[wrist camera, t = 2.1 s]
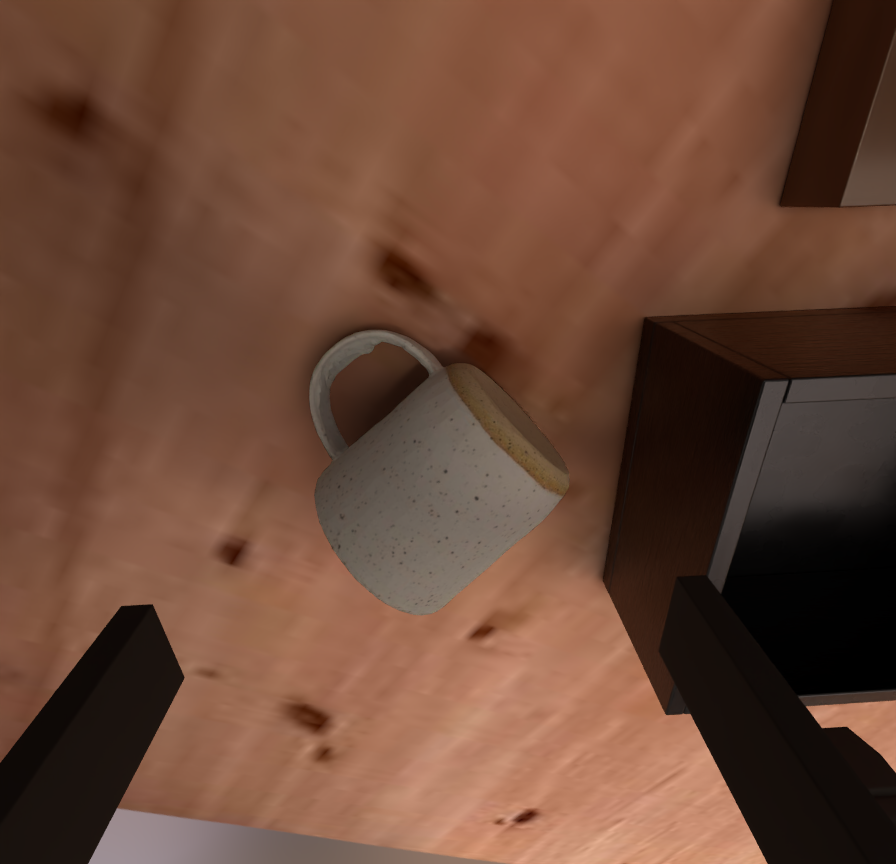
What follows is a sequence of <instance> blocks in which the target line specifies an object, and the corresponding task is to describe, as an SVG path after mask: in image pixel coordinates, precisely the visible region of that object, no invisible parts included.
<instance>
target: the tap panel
mask: <svg viewBox="0 0 896 864" xmlns="http://www.w3.org/2000/svg"><path fill="white" fill-rule="evenodd" d="M887 205H896V0H834V2H833V6H832V10H831V14H830V17H829V21H828V25H827V29H826V33H825V36H824V40H823V44H822V48H821V52H820V56H819V59H818V63H817V67H816V71H815V75H814V78H813V82H812V86H811V90H810V94H809V97H808V101H807V105H806V109H805V113H804V116H803V120H802V124H801V128H800V132H799V135H798V139H797V143H796V147H795V151H794V155H793V158H792V162H791V166H790V170H789V174H788V177H787V181H786V185H785V189H784V193H783V196H782V200H781V204H780V206H781V207H861V206H887Z"/></svg>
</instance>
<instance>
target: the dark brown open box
mask: <svg viewBox="0 0 896 864" xmlns="http://www.w3.org/2000/svg"><path fill="white" fill-rule="evenodd" d="M698 575H707V576H708V578H709V579H710V580H711V582H712V583H713V584H714V586H715V587H716V588H717V590H718V591H719V592H720V594H721V595H722V596H723V598H724V599H725V600H726V602H727V603H728V604H729V606H730V607H731V608H732V610H733V611H734V612H735V614H736V615H737V616H738V618H739V619H740V620H741V621H742V623H743V624H744V625H745V627H746V628H747V629H748V631H749V632H750V633H751V635H752V636H753V637H754V639H755V640H756V641H757V643H758V644H759V645H760V647H761V648H762V649H763V651H764V652H765V653H766V655H767V656H768V657H769V659H770V660H771V661H772V663H773V664H774V665H775V667H776V668H777V669H778V671H779V672H780V673H781V675H782V676H783V677H784V679H785V680H786V681H787V683H788V684H789V685H790V687H791V688H792V689H793V690H794V692H795V693H796V694H797V696H798V697H799V698H800V700H801V701H802V702H803V704H804V705H805V706H817V705H832V704H847V703H863V702H878V701H893V700H896V306H890V307H867V308H845V309H822V310H799V311H777V312H754V313H731V314H709V315H686V316H664V317H646V318H645V320H644V326H643V332H642V339H641V345H640V351H639V357H638V364H637V370H636V376H635V383H634V389H633V395H632V401H631V408H630V414H629V420H628V427H627V433H626V439H625V445H624V452H623V458H622V464H621V471H620V477H619V483H618V489H617V496H616V502H615V508H614V515H613V521H612V527H611V533H610V540H609V546H608V552H607V559H606V565H605V571H604V577H603V583H604V585H605V587H606V589H607V591H608V593H609V595H610V597H611V599H612V601H613V603H614V605H615V608H616V610H617V612H618V614H619V616H620V618H621V620H622V622H623V625H624V627H625V629H626V631H627V633H628V635H629V637H630V640H631V642H632V644H633V646H634V648H635V650H636V652H637V655H638V657H639V659H640V661H641V663H642V665H643V667H644V669H645V672H646V674H647V676H648V678H649V680H650V682H651V684H652V687H653V689H654V691H655V693H656V695H657V697H658V699H659V701H660V704H661V706H662V708H663V710H664V712H665V714H666V715H679V714H683V713H684V714H690V712H689V710H688V708H687V706H686V704H685V702H684V700H683V698H682V696H681V695H680V693H679V691H678V689H677V687H676V685H675V683H674V681H673V679H672V677H671V675H670V673H669V671H668V669H667V667H666V665H665V663H664V662H663V660H662V658H661V656H660V654H659V652H658V650H659V646H660V642H661V638H662V634H663V630H664V626H665V622H666V618H667V614H668V609H669V605H670V601H671V597H672V593H673V589H674V585H675V581H676V577H680V576H698Z"/></svg>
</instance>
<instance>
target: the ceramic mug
mask: <svg viewBox="0 0 896 864" xmlns="http://www.w3.org/2000/svg"><path fill="white" fill-rule="evenodd" d="M381 342H386V343H390V344H393V345H396V346H400V347H402V348H403V349H404V350H406V351H407V352H408V353H409V354H411V355H412V356H413V357H415V358H416V359H417V360H418V361H419V362H420V363H421V364H422V366H424V367H425V368H426V369H427V371H428V373H429V378H427V379H426V380H425V381H424V382H423V383H422V384H420V385H419V386H418V387H417V388H416V389H415V390H414V391H413V392H412V393H411V394H410V395H408V396H407V397H406V398H405V399H404V400H403V401H402V402H401V403H399V404H398V405H397V407H396V408H395V409H394V410H393V411H392V412H391V413H389V414H388V415H387V416H386V417H385V418H383V419H382V420H381V421H380V422H379V423H377V424H376V425H374V426H373V427H372V428H371V429H370V430H369V431H368V432H366V433H365V434H364V435H363V436H361V437H360V438H359V439H358V441H356V442H355V443H354V444H352V445H351V446H350V447H349V446H348V445H347V444H346V442H345V440H344V439H343V437H342V435H341V433H340V431H339V429H338V427H337V425H336V422H335V419H334V417H333V414H332V411H331V405H330V387H331V384H332V382H333V381H334V380H335V376H336V375H337V374H338V373H339V372H341V371H342V370H343V369H344V368H345V367H346V366H348V365H349V364H350V363H351V362H352V361H353V360H355V359H356V358H358V357H359V356H361V355H362V354H369V353H371V352H372V351H373V349H374V347H375V345H378V344H379V343H381ZM309 404H310V409H311V415H312V419H313V422H314V425H315V428H316V431H317V433H318V435H319V437H320V439H321V441H322V443H323V445H324V447H325V448H326V450H327V452H328V454H329V456H330V457H331V458H332V462H331V464H330V465H329V466H328V467H327V468H326V469H325V470H324V471H323V473H322V474H321V476H320V477H319V478H318V481H317V484H316V489H315V494H314V496H315V504H316V510H317V514H318V518H319V522H320V524H321V526H322V529H323V531H324V534H325V535H326V537H327V539H328V541H329V543H330V545H331V547H332V548H333V550H334V551H335V553H336V554H337V556H338V557H339V559H340V560H341V561H342V563H343V564H344V565H345V566H346V568H347V569H348V570H349V572H350V573H351V574H352V575H353V576H354V578H355V579H356V580H357V581H358V582H359V583H361V584H362V585H363V586H364V587H365V588H366V589H367V590H368V591H369V592H371V593H372V594H373V595H375V596H376V597H377V598H378V599H379V600H381V601H383V602H384V603H386V604H387V605H389V606H391V607H393V608H395V609H397V610H399V611H403V612H406V613H409V614H413V615H427V614H432V613H434V612H436V611H438V610H440V609H441V608H443V607H444V606H445V605H446V604H447V603H448V602H449V601H450V600H451V599H453V598H454V597H455V596H456V595H457V594H458V593H459V592H460V591H461V590H463V589H464V588H465V587H466V586H467V585H468V584H470V583H471V582H472V581H473V580H474V579H476V578H477V577H478V576H479V575H480V574H481V573H483V572H484V571H485V570H486V569H487V568H488V567H490V566H491V565H492V564H493V563H494V562H495V561H496V560H497V559H498V558H499V557H501V556H502V555H503V554H504V553H505V552H506V551H507V550H508V549H510V548H511V547H512V546H513V545H514V544H515V543H516V542H518V541H519V540H520V539H521V538H523V537H524V536H525V535H527V534H528V533H529V532H530V531H531V530H533V529H534V528H535V527H536V526H537V525H538V524H540V523H541V522H542V521H543V520H544V519H545V518H546V517H547V516H548V515H549V514H550V512H551V511H552V510H553V509H554V507H555V506H556V505H557V504H558V502H559V501H560V500H561V499H562V497H563V496H564V495H565V494H566V492H567V490H568V488H569V480H570V479H569V471H568V469H567V467H566V465H565V463H564V462H563V460H562V458H561V457H560V455H559V454H558V452H557V451H556V450H555V448H554V447H553V446H552V444H551V443H550V442H549V441H548V439H547V438H546V437H545V436H544V434H543V433H542V432H541V431H540V430H539V428H538V427H537V426H536V425H535V424H534V423H533V422H532V420H531V419H530V418H529V417H528V416H527V415H526V414H525V413H524V411H523V410H522V409H521V408H520V407H519V406H518V405H517V404H516V403H515V402H514V401H513V400H512V399H511V398H510V397H509V396H508V395H507V394H506V393H505V392H504V391H503V390H502V389H501V388H500V387H499V386H498V385H497V384H496V383H495V382H494V381H493V380H492V379H491V378H489V377H488V376H487V375H486V374H485V373H484V372H482V371H481V370H479V369H478V368H476V367H475V366H473V365H471V364H466V363H454V364H451V365H449V366H447V367H442V365H441V364H440V363H439V361H438V360H437V359H436V358H435V356H434V355H433V354H432V353H431V352H429V351H428V350H427V349H425V348H424V347H423V346H421V345H420V344H418V343H417V342H415V341H414V340H412V339H411V338H409V337H407V336H404V335H401V334H398V333H396V332H392V331H388V330H366V331H361V332H356V333H354V334H352V335H350V336H347V337H345V338H344V339H342V340H341V341H339V342H338V343H336V344H335V345H334V346H333V347H332V348H331V349H330V350H328V351H327V352H326V353H325V354H324V356H323V357H322V358H321V360H320V361H319V362H318V364H317V365H316V367H315V369H314V371H313V374H312V377H311V381H310V388H309Z"/></svg>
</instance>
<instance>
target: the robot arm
mask: <svg viewBox="0 0 896 864" xmlns="http://www.w3.org/2000/svg"><path fill="white" fill-rule="evenodd" d="M658 652H659V654H660V656H661V658H662V660H663V662H664V663H665V665H666V667H667V669H668V671H669V673H670V675H671V677H672V679H673V681H674V683H675V685H676V687H677V689H678V691H679V693H680V695H681V696H682V698H683V700H684V702H685V704H686V706H687V708H688V710H689V712H690V714H691V716H692V718H693V720H694V722H695V724H696V726H697V727H698V729H699V731H700V733H701V735H702V737H703V739H704V741H705V743H706V745H707V747H708V749H709V751H710V753H711V755H712V757H713V759H714V760H715V762H716V764H717V766H718V768H719V770H720V772H721V774H722V776H723V778H724V780H725V782H726V784H727V786H728V788H729V790H730V791H731V793H732V795H733V797H734V799H735V801H736V803H737V805H738V807H739V809H740V811H741V813H742V815H743V817H744V819H745V821H746V823H747V824H748V826H749V828H750V830H751V832H752V834H753V836H754V838H755V840H756V842H757V844H758V846H759V848H760V850H761V852H762V854H763V855H764V857H765V859H766V861H767V863H768V864H896V773H895V771H894V770H893V769H892V768H891V767H890V765H889V764H888V763H887V762H886V761H885V759H884V758H883V757H882V756H881V755H880V754H879V753H878V752H877V751H876V750H874V749H873V748H872V747H871V746H870V745H868V744H867V743H866V742H865V741H863V740H862V739H861V738H860V737H859V736H857V735H856V734H855V733H854V732H852V731H851V730H850V729H849V728H848V727H835V728H821V726H820V725H819V724H818V722H817V721H816V720H815V718H814V717H813V716H812V714H811V713H810V712H809V710H808V709H807V708H806V706H805V705H804V704H803V702H802V701H801V700H800V698H799V697H798V696H797V694H796V693H795V692H794V690H793V689H792V688H791V687H790V685H789V684H788V683H787V681H786V680H785V679H784V677H783V676H782V675H781V673H780V672H779V671H778V669H777V668H776V667H775V665H774V664H773V663H772V661H771V660H770V659H769V657H768V656H767V655H766V653H765V652H764V651H763V649H762V648H761V647H760V645H759V644H758V643H757V641H756V640H755V639H754V637H753V636H752V635H751V633H750V632H749V631H748V629H747V628H746V627H745V625H744V624H743V623H742V621H741V620H740V619H739V618H738V616H737V615H736V614H735V612H734V611H733V610H732V608H731V607H730V606H729V604H728V603H727V602H726V600H725V599H724V598H723V596H722V595H721V594H720V592H719V591H718V590H717V588H716V587H715V586H714V584H713V583H712V582H711V580H710V579H709V578H708V576H707V575H698V576H680V577H676V581H675V585H674V589H673V593H672V597H671V601H670V605H669V609H668V614H667V618H666V622H665V626H664V630H663V634H662V638H661V642H660V646H659V650H658ZM184 678H185V677H184V675H183V673H182V670H181V668H180V666H179V664H178V661H177V659H176V657H175V654H174V652H173V650H172V648H171V645H170V643H169V641H168V638H167V636H166V634H165V632H164V629H163V627H162V625H161V622H160V620H159V618H158V616H157V613H156V611H155V609H154V606H153V604H152V605H133V606H121V607H120V609H119V610H118V611H117V612H116V614H115V615H114V616H113V618H112V619H111V620H110V622H109V623H108V624H107V625H106V627H105V628H104V629H103V631H102V632H101V633H100V634H99V636H98V637H97V638H96V640H95V641H94V642H93V644H92V645H91V646H90V647H89V649H88V650H87V651H86V653H85V654H84V655H83V657H82V658H81V659H80V660H79V662H78V663H77V664H76V666H75V667H74V668H73V669H72V671H71V672H70V673H69V675H68V676H67V677H66V679H65V680H64V681H63V682H62V684H61V685H60V686H59V688H58V689H57V690H56V692H55V693H54V694H53V695H52V697H51V698H50V699H49V701H48V702H47V703H46V704H45V706H44V707H43V708H42V710H41V711H40V712H39V714H38V715H37V716H36V717H35V719H34V720H33V721H32V723H31V724H30V725H29V727H28V728H27V729H26V730H25V732H24V733H23V734H22V736H21V737H20V738H19V739H18V741H17V742H16V743H15V745H14V746H13V747H12V749H11V750H10V751H9V752H8V754H7V755H6V756H5V758H4V759H3V760H2V762H1V763H0V864H88V863H89V861H90V859H91V857H92V855H93V853H94V851H95V849H96V847H97V846H98V843H99V842H100V840H101V838H102V836H103V834H104V832H105V830H106V828H107V826H108V824H109V822H110V820H111V818H112V817H113V815H114V813H115V811H116V809H117V807H118V805H119V803H120V801H121V799H122V797H123V796H124V794H125V792H126V790H127V788H128V786H129V784H130V782H131V780H132V778H133V776H134V774H135V772H136V771H137V769H138V767H139V765H140V763H141V761H142V759H143V757H144V755H145V753H146V751H147V749H148V747H149V745H150V744H151V742H152V740H153V738H154V736H155V734H156V732H157V730H158V728H159V726H160V724H161V722H162V720H163V719H164V717H165V715H166V713H167V711H168V709H169V707H170V705H171V703H172V701H173V699H174V697H175V695H176V694H177V692H178V690H179V688H180V686H181V684H182V682H183V680H184Z"/></svg>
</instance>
